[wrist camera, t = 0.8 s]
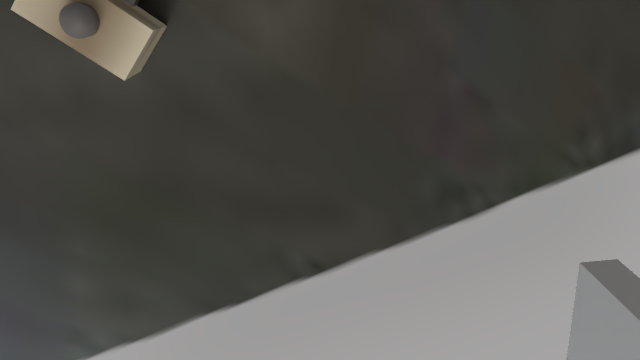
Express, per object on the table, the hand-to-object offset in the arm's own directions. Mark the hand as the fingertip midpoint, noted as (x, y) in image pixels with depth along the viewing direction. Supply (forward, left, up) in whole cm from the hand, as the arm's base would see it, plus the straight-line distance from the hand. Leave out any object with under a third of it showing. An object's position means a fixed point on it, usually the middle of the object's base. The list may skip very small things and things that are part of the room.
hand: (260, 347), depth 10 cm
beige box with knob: (-11, -1, -21) cm, 24 cm away
